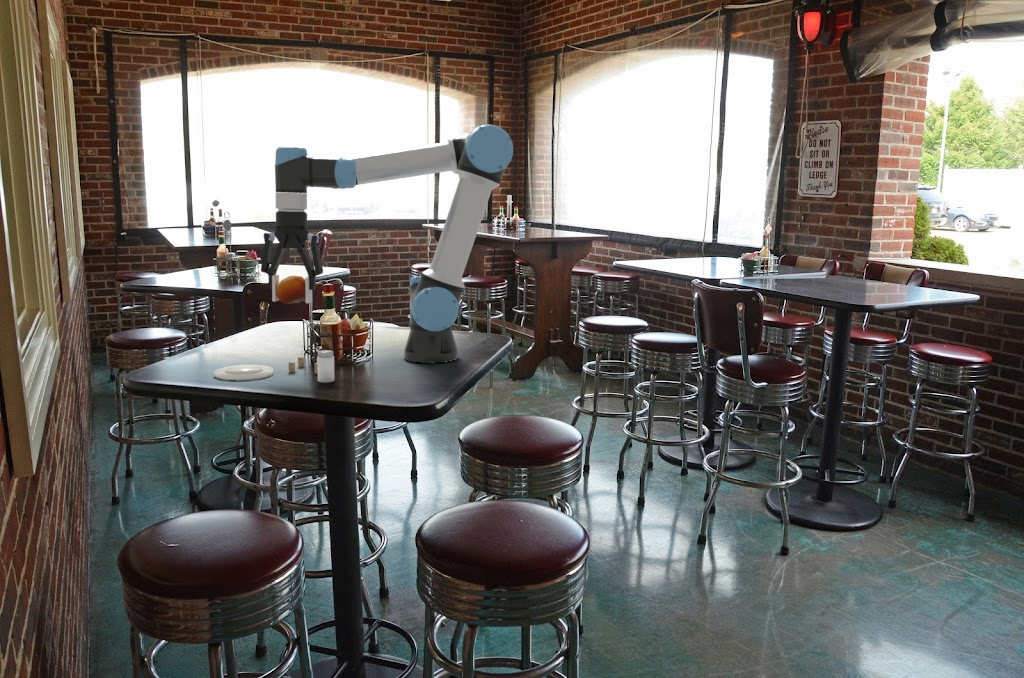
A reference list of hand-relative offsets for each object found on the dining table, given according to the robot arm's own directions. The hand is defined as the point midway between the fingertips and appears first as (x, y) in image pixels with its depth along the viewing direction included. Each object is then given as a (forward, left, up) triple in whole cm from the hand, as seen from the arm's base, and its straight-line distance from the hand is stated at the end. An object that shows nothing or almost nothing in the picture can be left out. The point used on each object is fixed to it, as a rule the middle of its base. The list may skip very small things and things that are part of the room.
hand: (292, 301), depth 205 cm
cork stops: (-3, -2, -18) cm, 18 cm away
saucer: (+11, +6, -18) cm, 22 cm away
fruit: (0, 0, -1) cm, 1 cm away
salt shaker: (-11, +9, -18) cm, 23 cm away
